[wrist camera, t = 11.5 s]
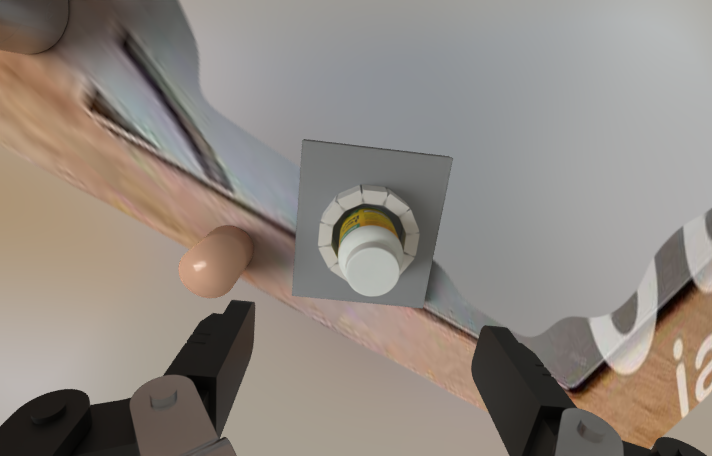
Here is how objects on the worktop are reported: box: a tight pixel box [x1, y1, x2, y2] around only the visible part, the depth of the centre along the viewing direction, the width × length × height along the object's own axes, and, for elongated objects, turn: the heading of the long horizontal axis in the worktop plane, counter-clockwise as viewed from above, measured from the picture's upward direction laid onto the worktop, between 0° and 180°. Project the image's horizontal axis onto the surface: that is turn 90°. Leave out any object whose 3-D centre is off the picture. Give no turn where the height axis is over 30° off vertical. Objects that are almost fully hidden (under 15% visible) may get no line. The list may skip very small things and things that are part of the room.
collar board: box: [292, 139, 453, 308], centre depth 34 cm, size 14×16×4 cm
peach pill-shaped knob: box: [179, 226, 254, 298], centre depth 34 cm, size 5×5×6 cm
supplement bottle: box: [338, 207, 404, 297], centre depth 30 cm, size 5×5×10 cm
